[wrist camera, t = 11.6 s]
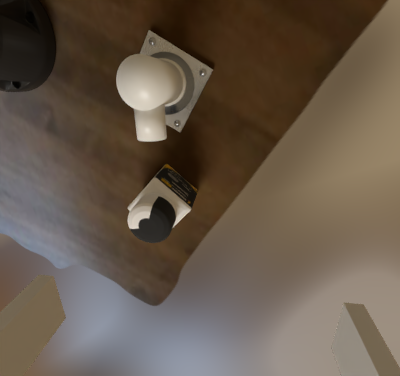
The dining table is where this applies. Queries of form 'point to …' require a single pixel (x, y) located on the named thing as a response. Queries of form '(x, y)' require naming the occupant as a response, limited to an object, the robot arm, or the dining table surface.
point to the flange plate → (193, 71)
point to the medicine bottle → (160, 205)
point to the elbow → (150, 92)
